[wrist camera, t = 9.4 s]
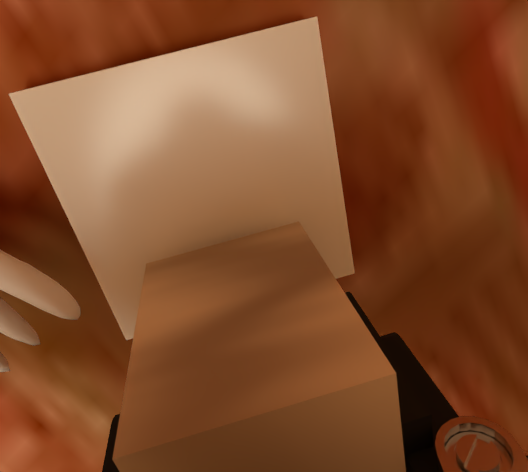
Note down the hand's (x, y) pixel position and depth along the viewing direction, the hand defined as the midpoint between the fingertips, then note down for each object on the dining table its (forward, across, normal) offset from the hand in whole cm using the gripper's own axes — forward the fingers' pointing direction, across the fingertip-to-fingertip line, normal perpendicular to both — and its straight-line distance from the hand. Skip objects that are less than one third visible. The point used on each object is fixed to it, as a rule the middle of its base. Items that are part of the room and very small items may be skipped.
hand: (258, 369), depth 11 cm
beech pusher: (+1, 0, -1) cm, 2 cm away
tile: (+3, 0, 0) cm, 3 cm away
